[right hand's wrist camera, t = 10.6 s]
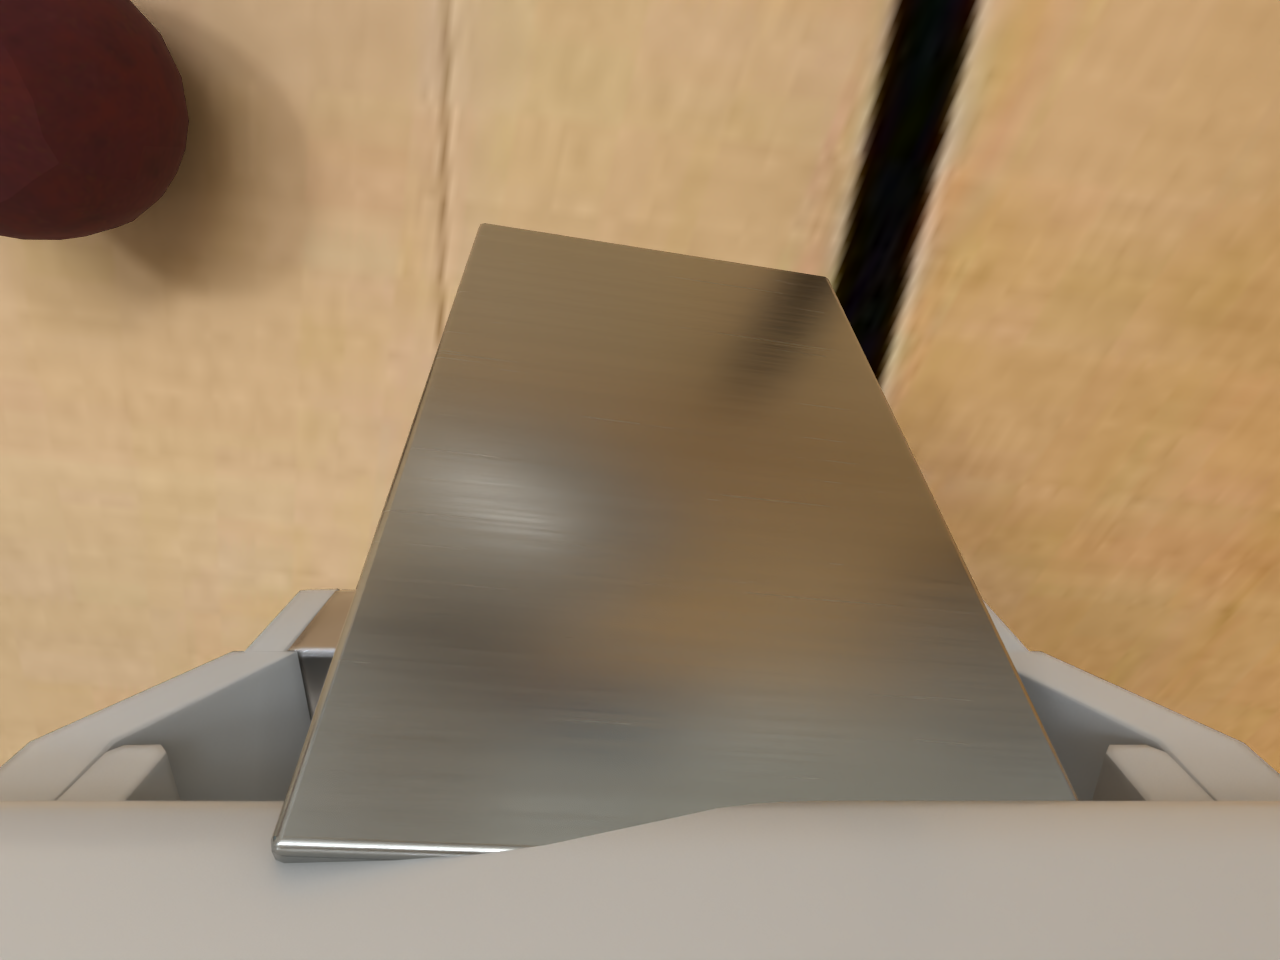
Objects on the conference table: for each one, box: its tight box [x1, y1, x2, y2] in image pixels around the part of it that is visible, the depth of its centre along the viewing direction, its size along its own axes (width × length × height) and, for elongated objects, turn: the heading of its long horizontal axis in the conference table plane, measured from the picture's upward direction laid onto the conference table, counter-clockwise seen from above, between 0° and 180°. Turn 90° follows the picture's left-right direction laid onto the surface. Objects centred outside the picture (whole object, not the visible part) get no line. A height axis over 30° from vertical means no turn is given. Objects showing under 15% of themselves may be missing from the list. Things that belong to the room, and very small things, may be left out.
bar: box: [271, 223, 1079, 863], centre depth 17 cm, size 27×6×10 cm, turn 170°
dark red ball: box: [0, 0, 189, 240], centre depth 18 cm, size 7×8×7 cm
